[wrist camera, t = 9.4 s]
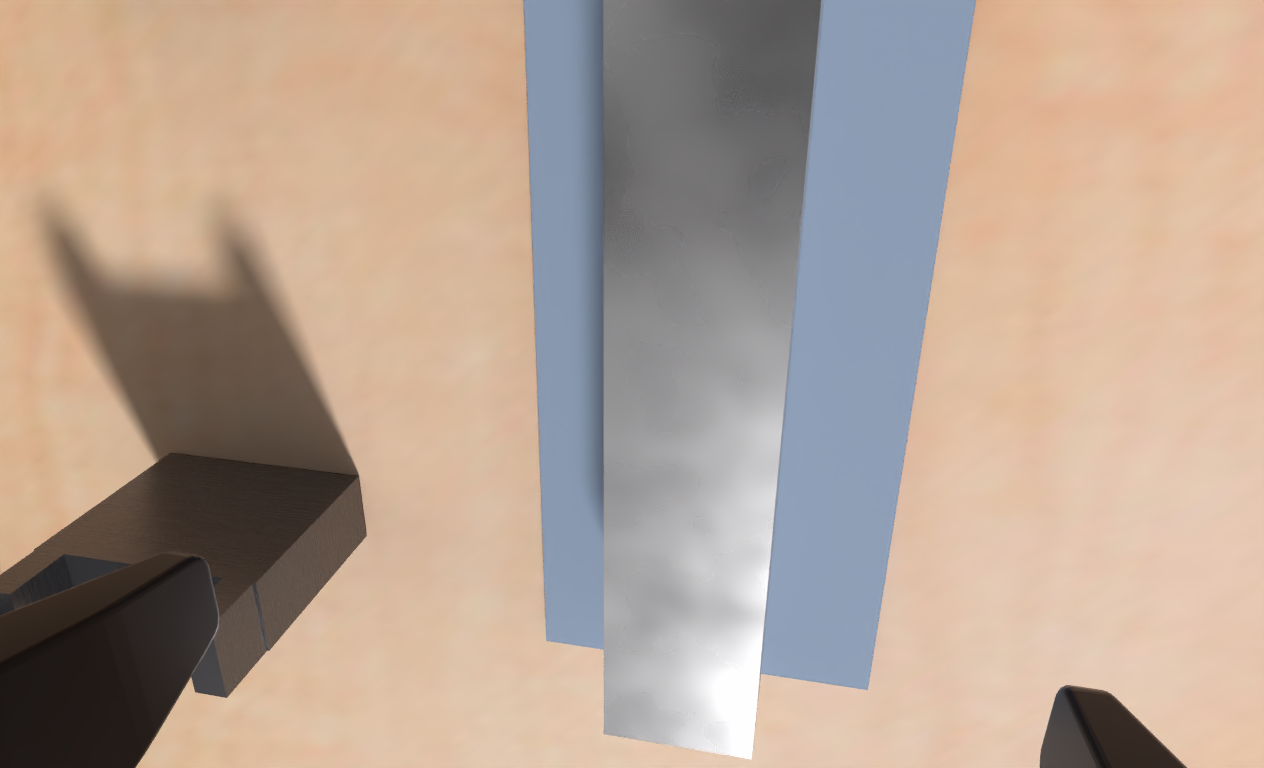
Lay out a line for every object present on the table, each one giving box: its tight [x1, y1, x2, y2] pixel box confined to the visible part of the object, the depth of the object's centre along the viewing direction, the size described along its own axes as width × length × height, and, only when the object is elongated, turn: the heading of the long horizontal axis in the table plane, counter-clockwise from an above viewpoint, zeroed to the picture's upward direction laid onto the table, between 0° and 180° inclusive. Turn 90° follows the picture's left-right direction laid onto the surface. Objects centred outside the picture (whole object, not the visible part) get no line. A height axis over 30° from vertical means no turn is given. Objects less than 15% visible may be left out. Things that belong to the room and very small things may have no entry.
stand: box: [0, 453, 366, 698], centre depth 23 cm, size 6×2×7 cm, turn 90°
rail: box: [603, 0, 824, 759], centre depth 19 cm, size 4×20×4 cm, turn 0°
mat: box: [524, 0, 976, 690], centre depth 21 cm, size 9×22×1 cm, turn 0°
